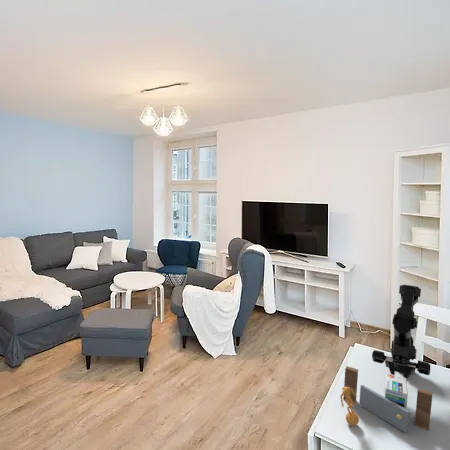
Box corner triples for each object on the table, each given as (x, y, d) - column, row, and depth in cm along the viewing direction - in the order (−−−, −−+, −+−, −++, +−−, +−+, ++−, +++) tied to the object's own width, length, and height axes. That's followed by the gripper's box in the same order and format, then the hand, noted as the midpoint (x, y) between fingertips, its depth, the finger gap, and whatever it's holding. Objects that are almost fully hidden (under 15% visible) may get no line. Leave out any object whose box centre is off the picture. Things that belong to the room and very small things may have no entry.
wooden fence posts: (344, 396, 120) (346, 365, 118) (429, 426, 105) (432, 392, 104) (343, 399, 118) (345, 368, 117) (428, 430, 103) (432, 395, 102)
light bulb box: (405, 425, 106) (408, 394, 104) (382, 418, 109) (385, 388, 107) (404, 405, 115) (407, 377, 114) (383, 399, 118) (385, 372, 117)
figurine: (350, 433, 102) (352, 398, 100) (333, 422, 106) (335, 388, 105) (364, 422, 107) (366, 388, 105) (347, 412, 111) (349, 379, 110)
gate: (361, 403, 115) (362, 384, 114) (407, 431, 102) (409, 410, 101) (357, 405, 114) (358, 386, 113) (403, 434, 101) (405, 413, 100)
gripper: (373, 329, 123) (368, 371, 115) (432, 341, 113) (430, 388, 105) (375, 341, 130) (370, 380, 122) (430, 353, 121) (428, 397, 113)
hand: (398, 386), depth 115 cm, fingers closed on light bulb box, 2 cm apart
